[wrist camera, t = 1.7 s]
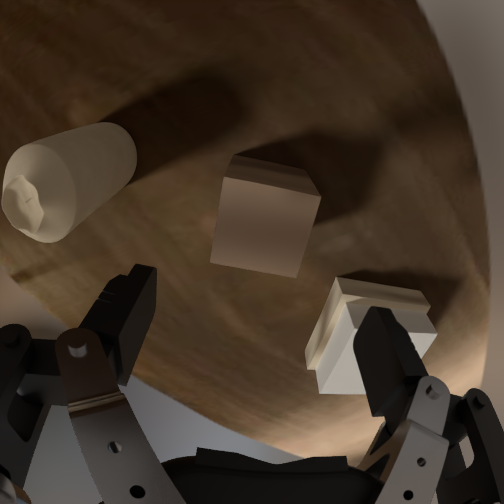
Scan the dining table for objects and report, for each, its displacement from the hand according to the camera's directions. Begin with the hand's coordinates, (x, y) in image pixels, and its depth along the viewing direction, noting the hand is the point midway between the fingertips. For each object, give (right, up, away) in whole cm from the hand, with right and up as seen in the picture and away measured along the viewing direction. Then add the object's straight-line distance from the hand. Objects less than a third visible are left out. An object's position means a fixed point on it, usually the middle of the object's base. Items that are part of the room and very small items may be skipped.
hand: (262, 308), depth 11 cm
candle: (-11, +9, +9) cm, 17 cm away
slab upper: (+10, -6, +14) cm, 18 cm away
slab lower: (+10, -4, +17) cm, 20 cm away
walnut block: (0, +6, +11) cm, 12 cm away
